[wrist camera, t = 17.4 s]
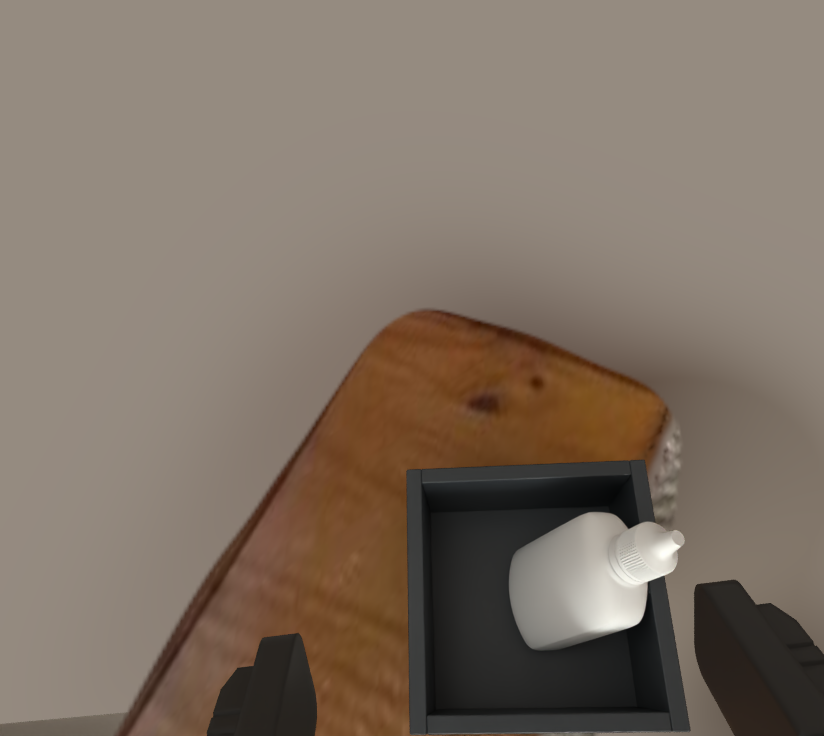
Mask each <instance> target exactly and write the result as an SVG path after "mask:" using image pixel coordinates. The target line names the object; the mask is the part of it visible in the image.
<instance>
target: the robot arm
mask: <svg viewBox="0 0 824 736" xmlns="http://www.w3.org/2000/svg"><path fill="white" fill-rule="evenodd" d="M694 634H695V635H694V645H695V653H696V658H697V662H698V665H699V669H700V671H701V674H702V676H703V678H704V680H705V682H706V684H707V686H708V688H709V689H710V691H711V693H712V695H713V697H714V699H715V701H716V702H717V704H718V706H719V708H720V710H721V712H722V713H723V715H724V717H725V719H726V721H727V723H728V724H729V726H730V728H731V730H732V732H733V733H734V735H735V736H824V654H823V653H822V652H821V650H820V649H819V648H818V647H817V646H815V645H814V643H813V640H812V639H811V638H810V637H809V636H808V634H807V633H806V632H805V630H804V629H803V628H802V627H801V626H800V624H799V623H798V622H797V621H796V620H795V619H794V618H792V617H791V616H789V615H788V614H786V613H785V612H783V611H782V610H780V609H779V608H777V607H776V606H774V605H773V604H771V603H768V604H760V605H756V604H755V603H754V601H753V600H752V599H751V597H750V596H749V595H748V593H747V592H746V591H745V589H744V588H743V586H742V585H741V584H740V583H739V582H738V581H736V580H728V581H720V582H712V583H704V584H697V585H696V587H695V592H694ZM316 721H317V703H316V694H315V689H314V685H313V681H312V677H311V673H310V668H309V664H308V660H307V656H306V652H305V648H304V644H303V641H302V638H301V636H300V634H299V633H296V634H288V635H280V636H272V637H264V638H262V640H261V642H260V644H259V648H258V652H257V655H256V659H255V662H254V666H249V667H241V668H237V669H236V671H235V672H234V673H233V675H232V676H231V677H230V678H229V680H228V681H227V682H226V684H225V685H224V686H223V687H222V689H221V691H220V694H219V697H218V700H217V703H216V706H215V709H214V712H213V718H211V721H210V724H209V727H208V730H207V736H315V729H316Z"/></svg>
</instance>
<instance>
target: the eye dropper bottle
mask: <svg viewBox="0 0 824 736" xmlns="http://www.w3.org/2000/svg"><path fill="white" fill-rule="evenodd" d="M684 540H685V539H684V536H683V535H682V533H681V532H679V531H678V530H673V531H666V530H665V529H664V528H663V527H662V526H660V525H658V524H656V523H654V522H643V523H640V524H638V525H636V526H634V527H632V528H630V529H628V528H627V527H626V525H625V524H624V523H623V522H622V520H621V519H619V518H618V517H617V516H616V515H614V514H611V513H604V512H589V513H586V514H583V515H580V516H578V517H576V518H574V519H572V520H570V521H568V522H567V523H565V524H563V525H561V526H559V527H558V528H556V529H554V530H552V531H550V532H549V533H547V534H545V535H543V536H541V537H540V538H538V539H536V540H534V541H532V542H531V543H529V544H527V545H525V546H524V547H522V548H520V549H518V550H517V551H516V552H515V554H514V555H513V557H512V561H511V565H510V572H509V595H510V602H511V607H512V611H513V615H514V618H515V621H516V624H517V626H518V629H519V631H520V633H521V635H522V637H523V639H524V641H525V643H526V644H527V645H528V646H529V647H530V648H531V649H534V650H537V651H545V650H559V649H563V648H566V647H569V646H573V645H576V644H579V643H583V642H586V641H589V640H593V639H596V638H599V637H602V636H605V635H609V634H612V633H615V632H618V631H621V630H624V629H627V628H630V627H632V626H634V625H636V624H638V623H639V622H640V621H641V619H642V617H643V615H644V611H645V607H646V600H647V588H648V581H651V580H653V579H656V578H659V577H661V576H664V575H667V574H669V573H670V572H672V571H673V570H674V569H675V567H676V565H677V561H678V552H677V549H679V548H680V547H681V546H682V545H684V542H685V541H684Z"/></svg>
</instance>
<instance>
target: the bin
mask: <svg viewBox="0 0 824 736" xmlns="http://www.w3.org/2000/svg"><path fill="white" fill-rule="evenodd" d="M589 512H604V513H611V514H614V515H616V516H617V517H618V518H619V519H621V520H622V522H623V523H624V524H625V525H626V527H627V528H628V529H630V528H632V527H634V526H636V525H638V524H640V523H643V522H654V523H655V518H654V512H653V506H652V500H651V494H650V488H649V482H648V477H647V471H646V465H645V460H630V461H604V462H580V463H556V464H533V465H509V466H485V467H461V468H438V469H422V470H421V469H413V470H407V551H408V633H409V715H410V735H426V734H429V735H440V734H535V733H623V732H626V733H627V732H629V733H630V732H690V724H689V718H688V713H687V707H686V701H685V695H684V689H683V683H682V677H681V671H680V666H679V659H678V654H677V648H676V642H675V636H674V630H673V624H672V618H671V613H670V607H669V600H668V595H667V589H666V583H665V577H664V576H661V577H659V578H656V579H653V580H651V581H648V588H647V600H646V607H645V611H644V615H643V617H642V619H641V621H640V622H639V623H638V624H636V625H634V626H632V627H630V628H627V629H624V630H621V631H618V632H615V633H612V634H609V635H605V636H602V637H599V638H596V639H593V640H589V641H586V642H583V643H579V644H576V645H573V646H569V647H566V648H563V649H559V650H545V651H537V650H534V649H531V648H530V647H529V646H528V645H527V644H526V643H525V641H524V639H523V637H522V635H521V633H520V631H519V629H518V626H517V624H516V621H515V618H514V615H513V611H512V607H511V602H510V595H509V572H510V565H511V561H512V557H513V555H514V554H515V552H516V551H517V550H518V549H520V548H522V547H524V546H525V545H527V544H529V543H531V542H532V541H534V540H536V539H538V538H540V537H541V536H543V535H545V534H547V533H549V532H550V531H552V530H554V529H556V528H558V527H559V526H561V525H563V524H565V523H567V522H568V521H570V520H572V519H574V518H576V517H578V516H580V515H583V514H586V513H589Z"/></svg>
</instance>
